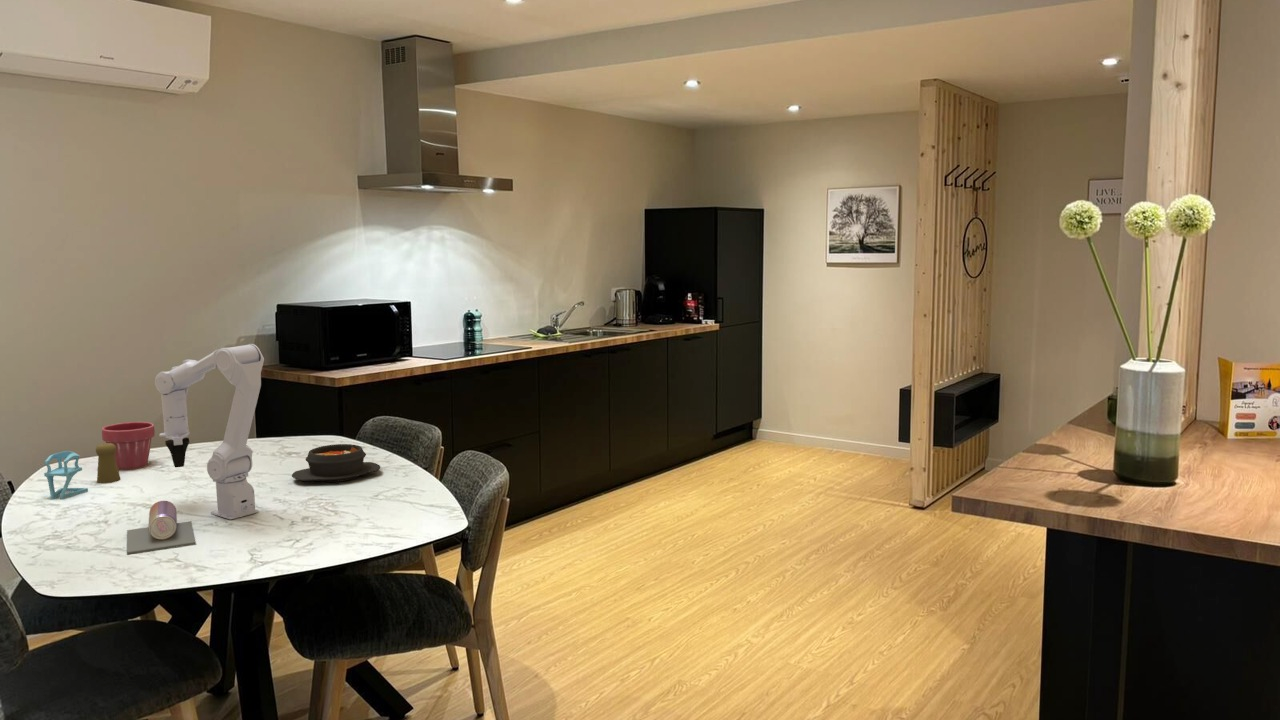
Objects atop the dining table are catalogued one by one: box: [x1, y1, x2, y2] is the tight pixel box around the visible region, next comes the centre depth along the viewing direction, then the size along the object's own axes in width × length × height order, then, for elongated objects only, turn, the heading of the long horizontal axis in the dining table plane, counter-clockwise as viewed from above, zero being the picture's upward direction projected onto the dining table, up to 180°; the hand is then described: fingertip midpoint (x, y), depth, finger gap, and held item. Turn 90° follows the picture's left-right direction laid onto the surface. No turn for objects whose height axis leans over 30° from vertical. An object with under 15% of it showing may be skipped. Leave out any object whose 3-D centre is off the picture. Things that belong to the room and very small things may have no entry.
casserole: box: [291, 443, 381, 483], centre depth 272 cm, size 25×19×8 cm
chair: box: [43, 450, 89, 500], centre depth 256 cm, size 8×8×12 cm
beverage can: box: [147, 500, 178, 540], centre depth 223 cm, size 6×6×15 cm
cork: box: [95, 442, 121, 484], centre depth 270 cm, size 6×6×11 cm
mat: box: [126, 520, 197, 555], centre depth 219 cm, size 18×14×1 cm
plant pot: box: [101, 421, 156, 471], centre depth 287 cm, size 14×14×13 cm
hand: (179, 466), depth 245 cm, fingers closed
